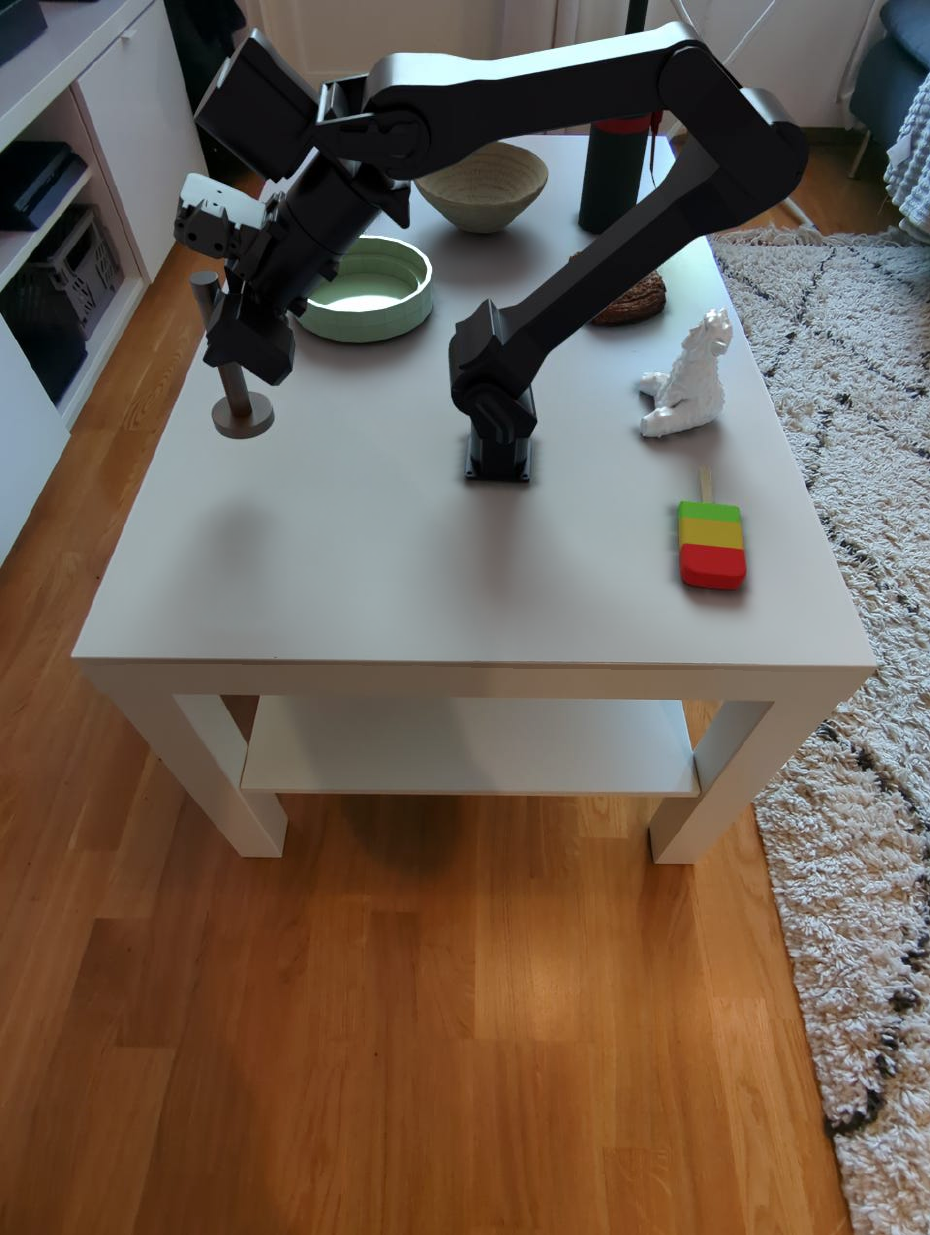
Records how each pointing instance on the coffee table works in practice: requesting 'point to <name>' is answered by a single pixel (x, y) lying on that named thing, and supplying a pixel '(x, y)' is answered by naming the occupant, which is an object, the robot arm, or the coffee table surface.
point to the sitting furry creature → (689, 380)
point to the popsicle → (710, 541)
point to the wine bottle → (617, 155)
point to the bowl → (486, 187)
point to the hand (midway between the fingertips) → (209, 355)
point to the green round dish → (372, 293)
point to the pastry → (634, 303)
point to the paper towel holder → (231, 378)
